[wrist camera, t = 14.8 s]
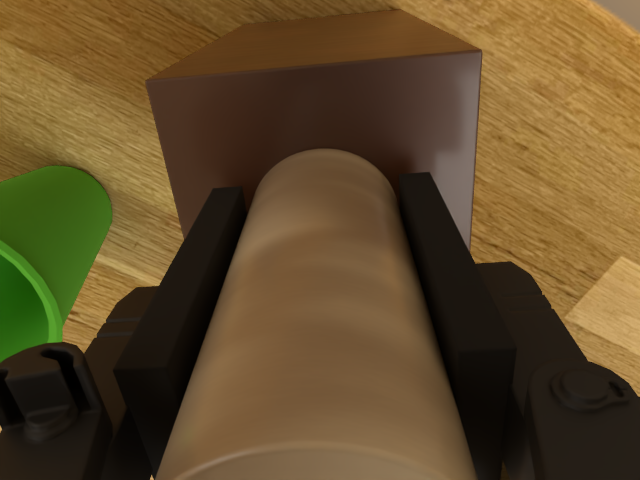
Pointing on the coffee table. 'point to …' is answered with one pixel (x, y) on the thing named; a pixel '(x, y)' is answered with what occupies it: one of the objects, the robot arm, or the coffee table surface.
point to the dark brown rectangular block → (322, 105)
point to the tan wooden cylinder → (320, 343)
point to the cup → (46, 251)
